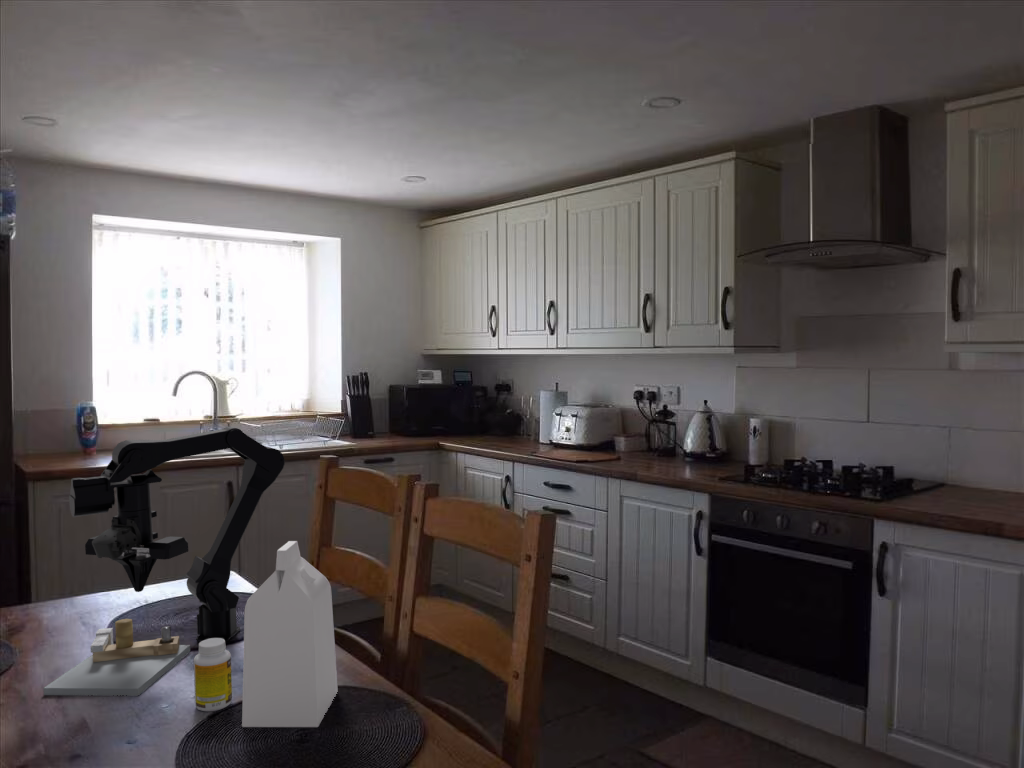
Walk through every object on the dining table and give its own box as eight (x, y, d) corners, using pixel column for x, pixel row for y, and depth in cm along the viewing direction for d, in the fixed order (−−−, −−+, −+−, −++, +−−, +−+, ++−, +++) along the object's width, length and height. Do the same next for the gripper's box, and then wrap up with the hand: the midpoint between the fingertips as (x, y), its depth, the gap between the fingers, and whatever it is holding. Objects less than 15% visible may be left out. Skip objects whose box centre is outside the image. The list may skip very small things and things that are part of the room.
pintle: (173, 649, 148) (172, 626, 148) (169, 652, 146) (168, 629, 146) (164, 649, 148) (163, 626, 148) (160, 652, 146) (159, 629, 146)
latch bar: (179, 645, 150) (178, 612, 149) (177, 653, 146) (176, 619, 146) (96, 655, 146) (95, 621, 145) (92, 663, 142) (90, 628, 141)
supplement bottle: (234, 708, 126) (232, 644, 126) (196, 716, 124) (194, 651, 123) (230, 694, 131) (228, 633, 131) (193, 701, 129) (191, 639, 128)
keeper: (113, 647, 149) (112, 627, 149) (105, 664, 141) (104, 643, 141) (99, 649, 149) (98, 629, 148) (90, 666, 141) (89, 644, 141)
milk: (268, 692, 132) (264, 536, 131) (337, 692, 132) (333, 536, 130) (241, 727, 120) (236, 556, 119) (317, 727, 120) (313, 555, 118)
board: (190, 651, 150) (190, 645, 150) (138, 695, 131) (137, 688, 131) (107, 650, 151) (107, 644, 151) (43, 695, 132) (43, 688, 132)
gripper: (58, 516, 143) (63, 602, 144) (144, 520, 138) (149, 609, 139) (106, 503, 154) (110, 583, 154) (188, 506, 148) (192, 589, 149)
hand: (139, 591), depth 149 cm, fingers closed
